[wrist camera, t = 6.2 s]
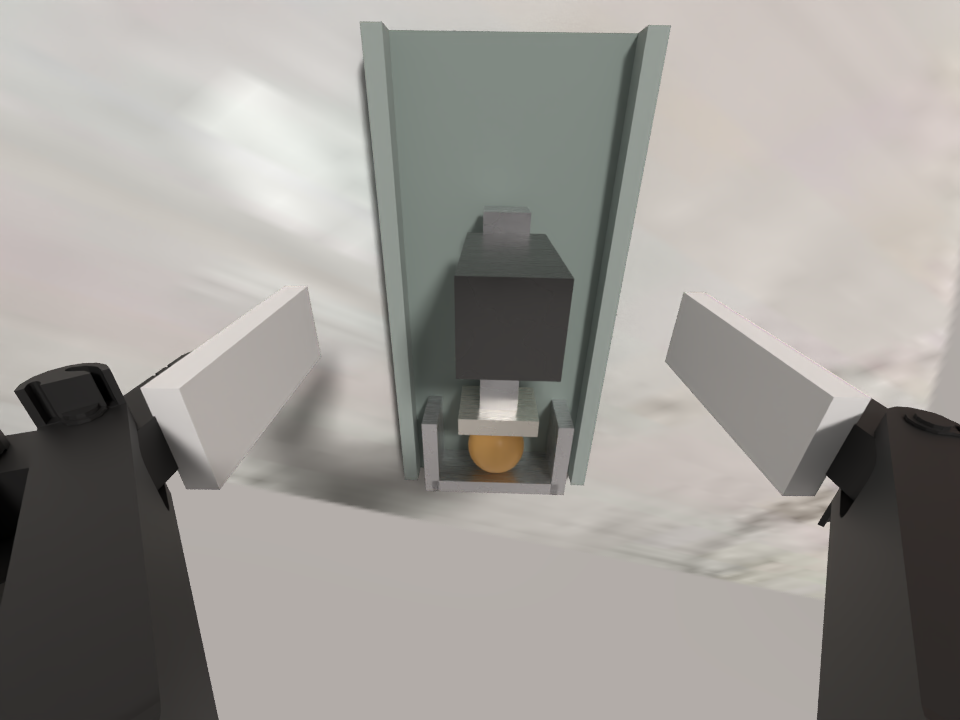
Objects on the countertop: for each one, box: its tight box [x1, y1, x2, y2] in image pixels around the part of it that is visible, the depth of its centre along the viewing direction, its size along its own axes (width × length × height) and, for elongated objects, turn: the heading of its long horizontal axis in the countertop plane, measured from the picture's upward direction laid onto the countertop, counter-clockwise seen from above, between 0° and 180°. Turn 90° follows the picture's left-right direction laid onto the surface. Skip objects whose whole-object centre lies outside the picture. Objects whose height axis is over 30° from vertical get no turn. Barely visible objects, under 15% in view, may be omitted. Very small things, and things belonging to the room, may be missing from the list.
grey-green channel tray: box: [360, 22, 671, 485], centre depth 25 cm, size 14×28×2 cm, turn 179°
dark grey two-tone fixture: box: [454, 206, 574, 437], centre depth 21 cm, size 5×13×11 cm, turn 179°
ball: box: [468, 435, 524, 473], centre depth 28 cm, size 4×4×4 cm
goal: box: [422, 396, 574, 495], centre depth 29 cm, size 10×6×4 cm, turn 89°
